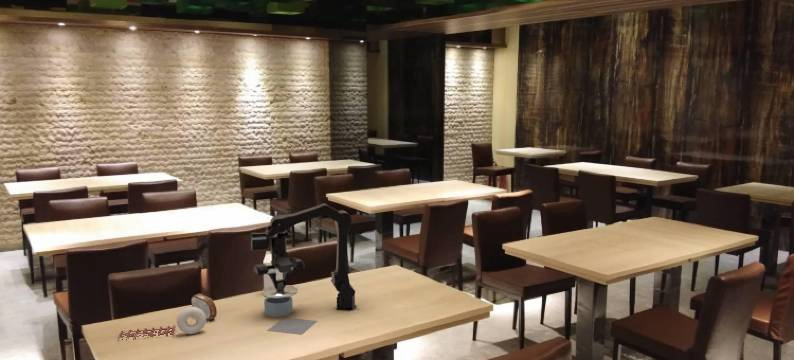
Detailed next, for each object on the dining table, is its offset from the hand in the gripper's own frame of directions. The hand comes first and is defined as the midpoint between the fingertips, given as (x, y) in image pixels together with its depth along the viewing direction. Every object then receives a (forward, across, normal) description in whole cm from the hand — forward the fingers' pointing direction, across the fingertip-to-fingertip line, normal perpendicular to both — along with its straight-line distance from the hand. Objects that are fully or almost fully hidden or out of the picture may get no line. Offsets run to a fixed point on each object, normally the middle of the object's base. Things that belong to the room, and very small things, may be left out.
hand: (280, 288), depth 239 cm
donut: (+11, -34, -2) cm, 36 cm away
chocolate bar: (+12, -48, +6) cm, 50 cm away
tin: (+11, -26, +14) cm, 32 cm away
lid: (+2, 0, 0) cm, 2 cm away
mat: (+11, 0, -14) cm, 18 cm away
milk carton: (+11, +6, +26) cm, 29 cm away
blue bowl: (+11, 0, +3) cm, 12 cm away
